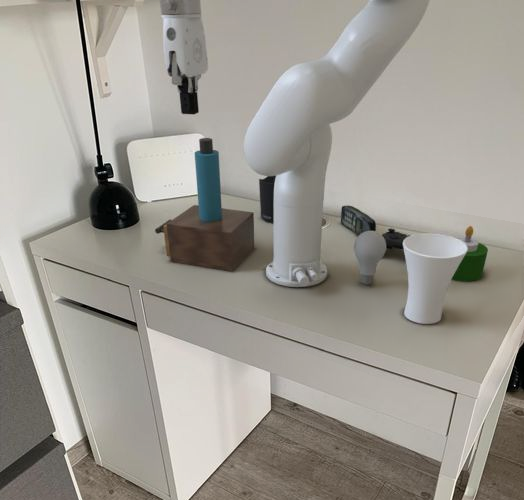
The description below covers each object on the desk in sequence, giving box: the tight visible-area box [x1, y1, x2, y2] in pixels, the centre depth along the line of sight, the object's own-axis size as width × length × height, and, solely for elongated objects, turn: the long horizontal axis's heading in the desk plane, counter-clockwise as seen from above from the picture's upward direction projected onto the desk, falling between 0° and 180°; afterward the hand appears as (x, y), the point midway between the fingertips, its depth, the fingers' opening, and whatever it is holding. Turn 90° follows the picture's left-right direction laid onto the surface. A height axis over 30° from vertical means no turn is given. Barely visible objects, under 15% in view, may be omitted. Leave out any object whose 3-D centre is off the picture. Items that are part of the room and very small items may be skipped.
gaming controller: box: [381, 228, 412, 251], centre depth 118 cm, size 14×6×10 cm
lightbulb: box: [353, 231, 387, 286], centre depth 106 cm, size 6×6×11 cm
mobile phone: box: [340, 205, 377, 237], centre depth 130 cm, size 5×3×15 cm
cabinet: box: [167, 204, 255, 272], centre depth 119 cm, size 15×13×9 cm
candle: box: [451, 225, 489, 282], centre depth 110 cm, size 8×8×10 cm
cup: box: [403, 232, 468, 325], centre depth 95 cm, size 10×10×14 cm
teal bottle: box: [194, 137, 223, 222], centre depth 112 cm, size 5×5×16 cm
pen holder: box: [258, 176, 276, 224], centre depth 138 cm, size 9×9×10 cm
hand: (190, 113), depth 112 cm, fingers closed
